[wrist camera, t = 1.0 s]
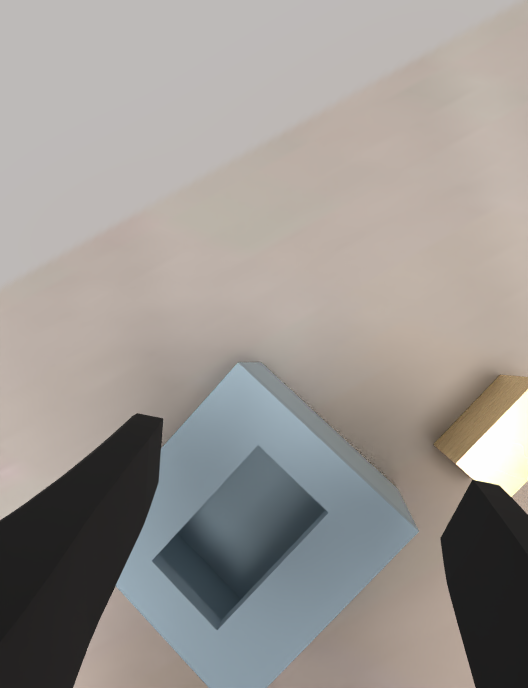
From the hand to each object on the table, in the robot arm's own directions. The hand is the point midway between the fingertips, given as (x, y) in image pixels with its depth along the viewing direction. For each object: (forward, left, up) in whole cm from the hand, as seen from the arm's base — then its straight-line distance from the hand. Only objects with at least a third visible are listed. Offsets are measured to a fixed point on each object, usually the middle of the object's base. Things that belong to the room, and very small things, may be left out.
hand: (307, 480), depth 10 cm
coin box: (-1, +6, -14) cm, 15 cm away
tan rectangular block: (-7, -5, -14) cm, 17 cm away
